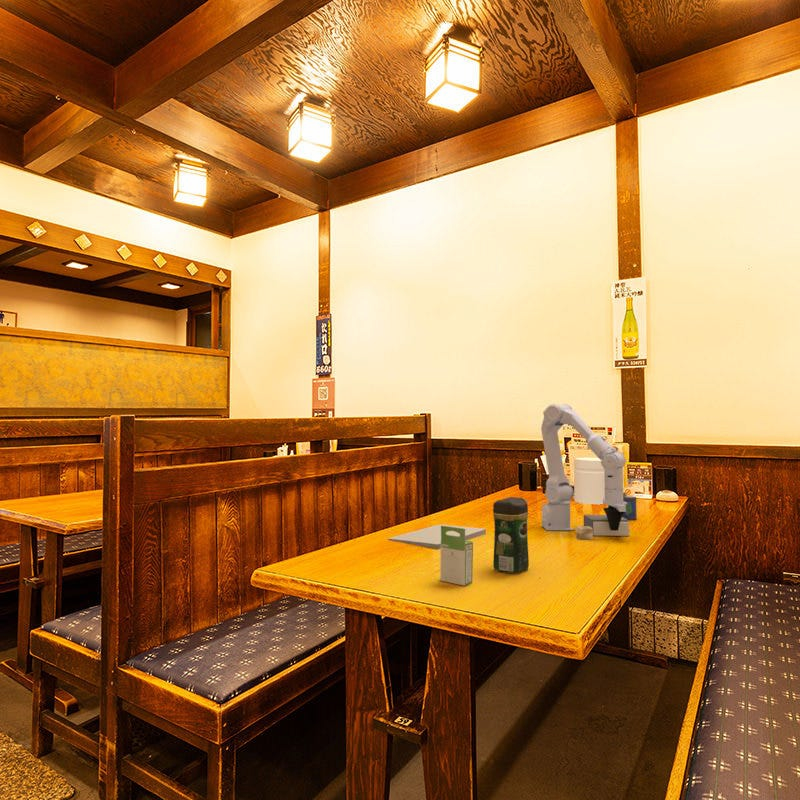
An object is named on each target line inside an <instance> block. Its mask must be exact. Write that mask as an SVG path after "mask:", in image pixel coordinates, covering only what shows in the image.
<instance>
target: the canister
mask: <svg viewBox="0 0 800 800" xmlns="http://www.w3.org/2000/svg"><path fill="white" fill-rule="evenodd" d="M601 461H602V460H600V459H599V458H598V457H574V459H573V466H574V469H573V477H574V481H573V482H574V483H573V487H574V488H573V491H574V495H573V499H574V501H573V502H574V503H577V502H578V504H582V503H583V505H591V504H594V505H593V506H598V505H599V506H601V505H600V504H603V499H605V478H604V474H605V472H604V468H603V466H602V464H601ZM596 504H597V505H596Z"/></svg>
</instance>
